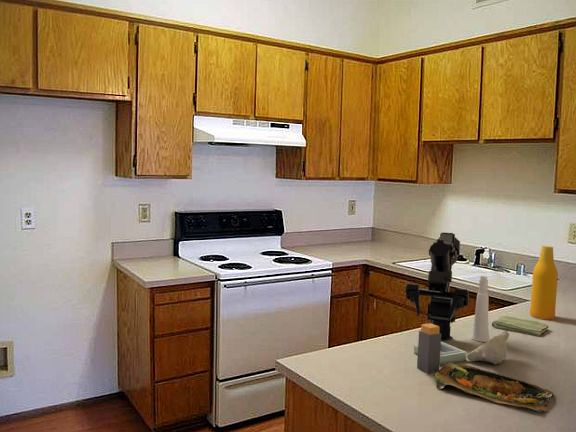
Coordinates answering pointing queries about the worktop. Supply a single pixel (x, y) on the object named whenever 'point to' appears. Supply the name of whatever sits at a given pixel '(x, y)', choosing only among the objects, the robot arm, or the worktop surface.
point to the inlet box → (448, 353)
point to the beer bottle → (544, 286)
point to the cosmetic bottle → (481, 313)
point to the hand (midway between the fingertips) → (433, 317)
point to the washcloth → (520, 325)
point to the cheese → (491, 350)
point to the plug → (429, 348)
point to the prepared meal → (493, 386)
